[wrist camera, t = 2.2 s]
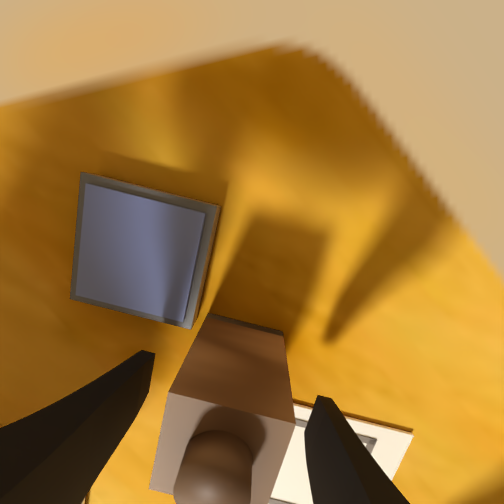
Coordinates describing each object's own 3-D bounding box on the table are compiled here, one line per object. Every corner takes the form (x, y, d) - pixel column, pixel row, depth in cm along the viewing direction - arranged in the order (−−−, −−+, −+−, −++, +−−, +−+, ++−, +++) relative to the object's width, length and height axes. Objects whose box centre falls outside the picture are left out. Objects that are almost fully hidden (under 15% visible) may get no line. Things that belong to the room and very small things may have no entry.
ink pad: (85, 291, 12) (66, 300, 11) (96, 174, 11) (77, 171, 10) (196, 319, 12) (189, 331, 11) (221, 205, 11) (215, 206, 10)
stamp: (193, 376, 13) (132, 528, 7) (208, 312, 12) (153, 422, 6) (263, 394, 13) (263, 561, 7) (282, 331, 12) (301, 458, 6)
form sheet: (208, 494, 15) (207, 498, 15) (237, 388, 13) (236, 391, 13) (362, 533, 15) (364, 537, 15) (412, 432, 13) (414, 436, 13)
